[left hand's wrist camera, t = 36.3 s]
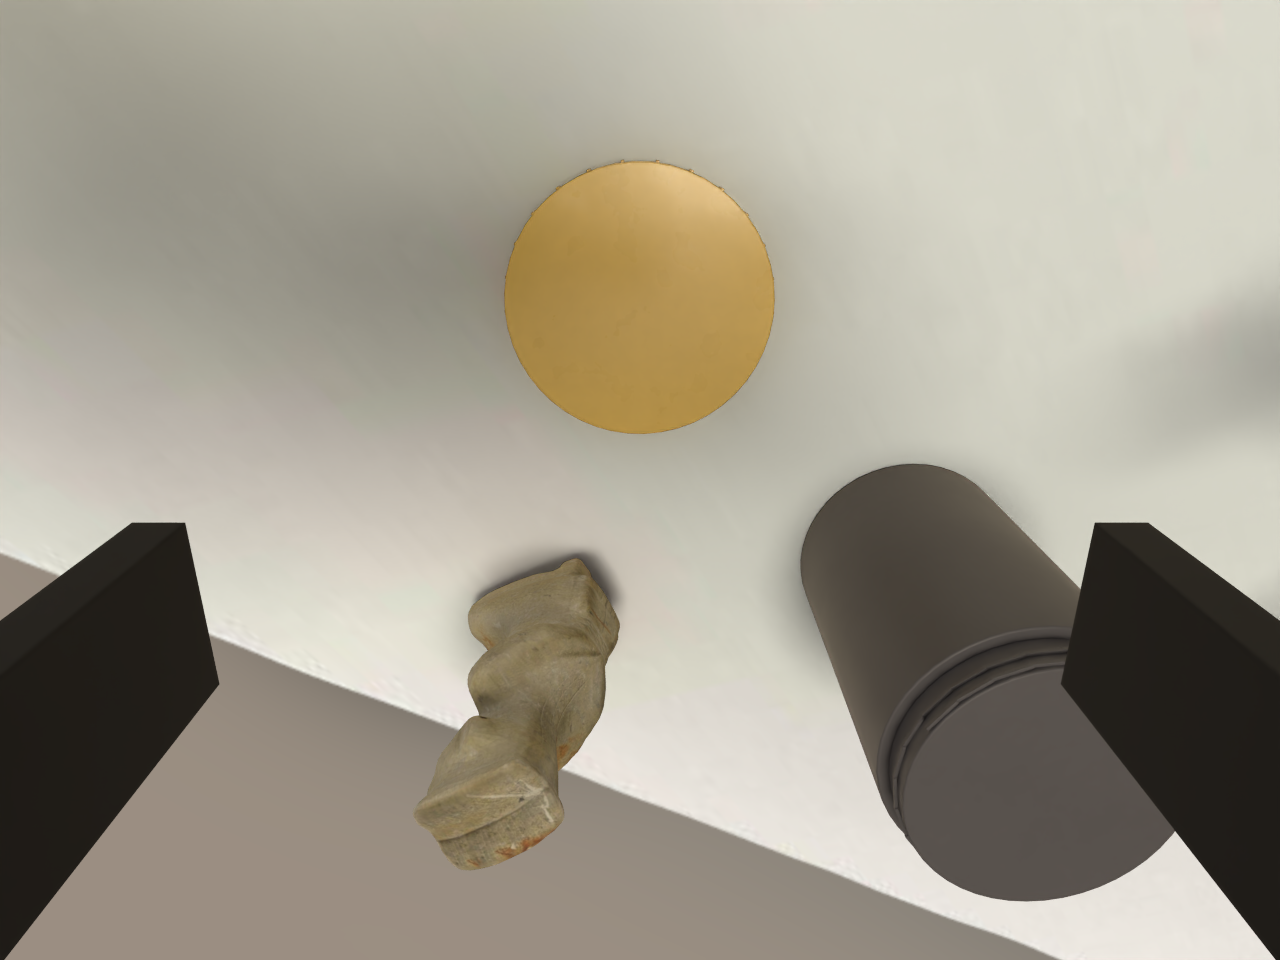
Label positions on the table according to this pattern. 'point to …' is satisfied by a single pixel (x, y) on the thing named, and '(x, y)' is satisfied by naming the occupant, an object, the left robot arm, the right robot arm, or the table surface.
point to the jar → (970, 688)
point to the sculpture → (521, 715)
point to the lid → (639, 297)
